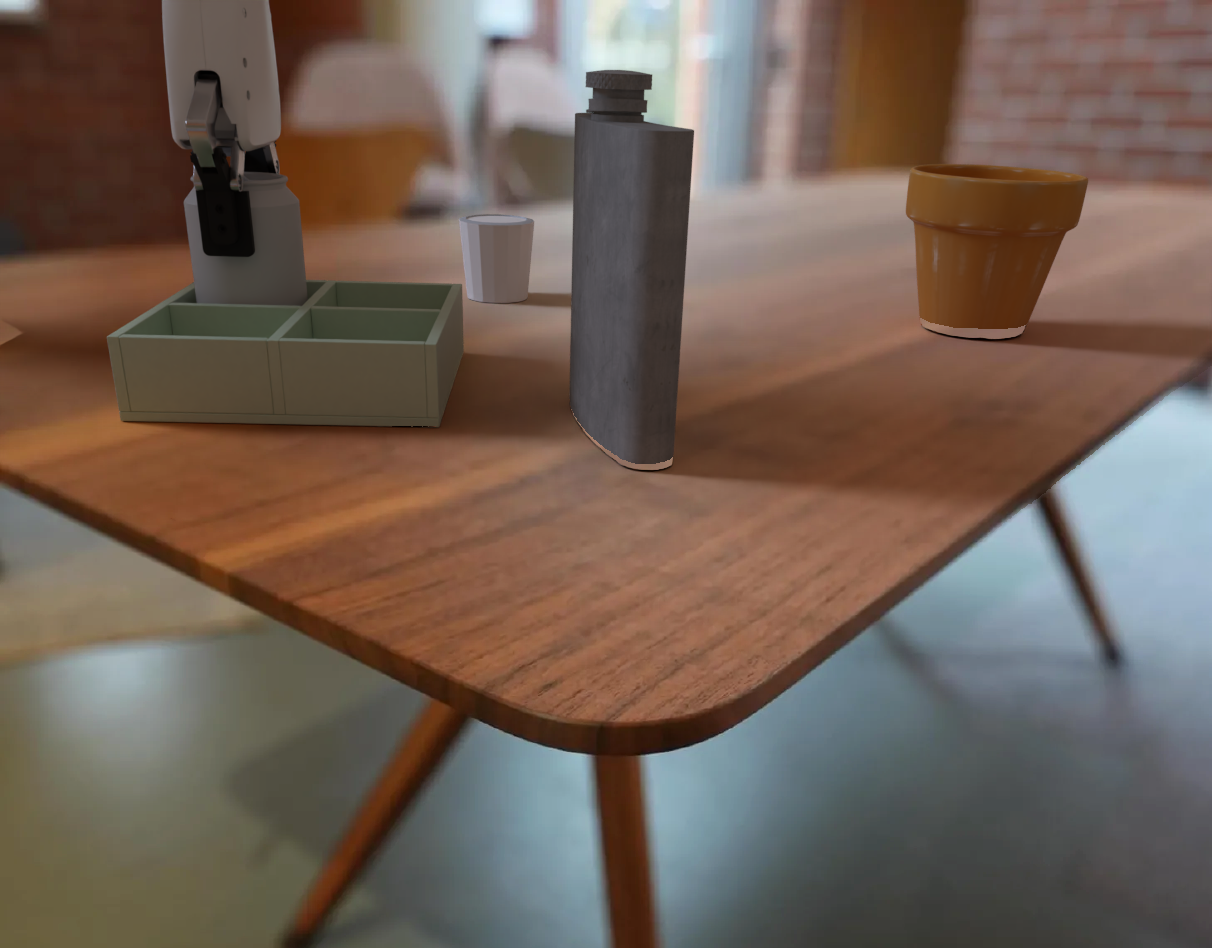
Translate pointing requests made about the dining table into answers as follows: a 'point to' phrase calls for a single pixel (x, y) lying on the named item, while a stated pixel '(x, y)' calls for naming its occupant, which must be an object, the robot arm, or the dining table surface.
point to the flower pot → (987, 239)
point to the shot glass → (496, 256)
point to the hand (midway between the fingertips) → (246, 243)
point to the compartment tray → (295, 357)
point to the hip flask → (628, 268)
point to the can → (277, 250)
